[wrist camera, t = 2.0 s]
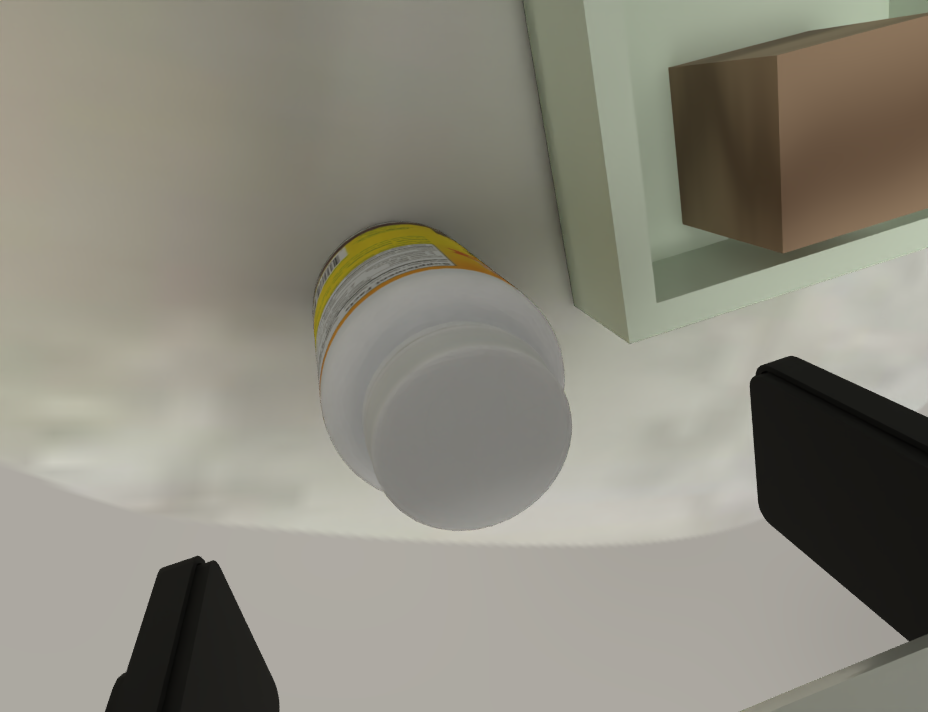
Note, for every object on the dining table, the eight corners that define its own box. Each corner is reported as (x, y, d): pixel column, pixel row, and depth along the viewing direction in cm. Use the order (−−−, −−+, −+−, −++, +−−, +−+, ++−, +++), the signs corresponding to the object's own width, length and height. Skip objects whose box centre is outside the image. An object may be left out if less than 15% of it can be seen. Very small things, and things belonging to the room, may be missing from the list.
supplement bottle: (495, 349, 23) (631, 512, 14) (343, 400, 22) (379, 608, 13) (455, 194, 21) (587, 263, 11) (286, 245, 20) (280, 362, 11)
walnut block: (668, 67, 20) (777, 55, 16) (808, 30, 21) (952, 8, 16) (682, 224, 22) (783, 253, 18) (810, 185, 23) (939, 204, 18)
